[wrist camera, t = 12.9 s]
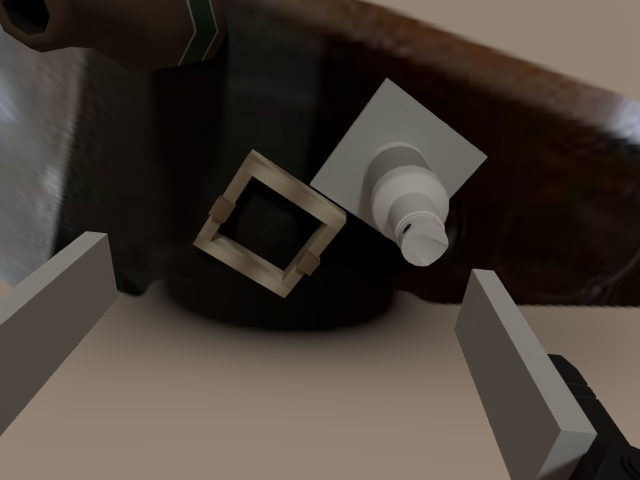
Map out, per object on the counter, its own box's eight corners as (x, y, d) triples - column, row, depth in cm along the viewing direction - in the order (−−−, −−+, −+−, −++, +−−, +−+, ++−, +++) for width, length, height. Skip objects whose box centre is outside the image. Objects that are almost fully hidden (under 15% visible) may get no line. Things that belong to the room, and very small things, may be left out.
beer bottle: (225, 72, 43) (108, 112, 21) (150, 53, 42) (-47, 76, 21) (235, -14, 39) (106, -68, 18) (154, -35, 39) (-80, -118, 17)
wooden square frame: (198, 232, 51) (186, 249, 47) (250, 148, 46) (242, 159, 42) (289, 286, 54) (284, 306, 50) (347, 212, 49) (347, 229, 45)
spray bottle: (393, 128, 44) (423, 183, 28) (439, 166, 45) (493, 240, 29) (352, 175, 46) (358, 252, 30) (397, 211, 48) (425, 300, 32)
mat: (310, 183, 48) (309, 184, 47) (386, 77, 42) (387, 78, 41) (403, 246, 51) (404, 248, 50) (485, 155, 45) (487, 156, 45)
